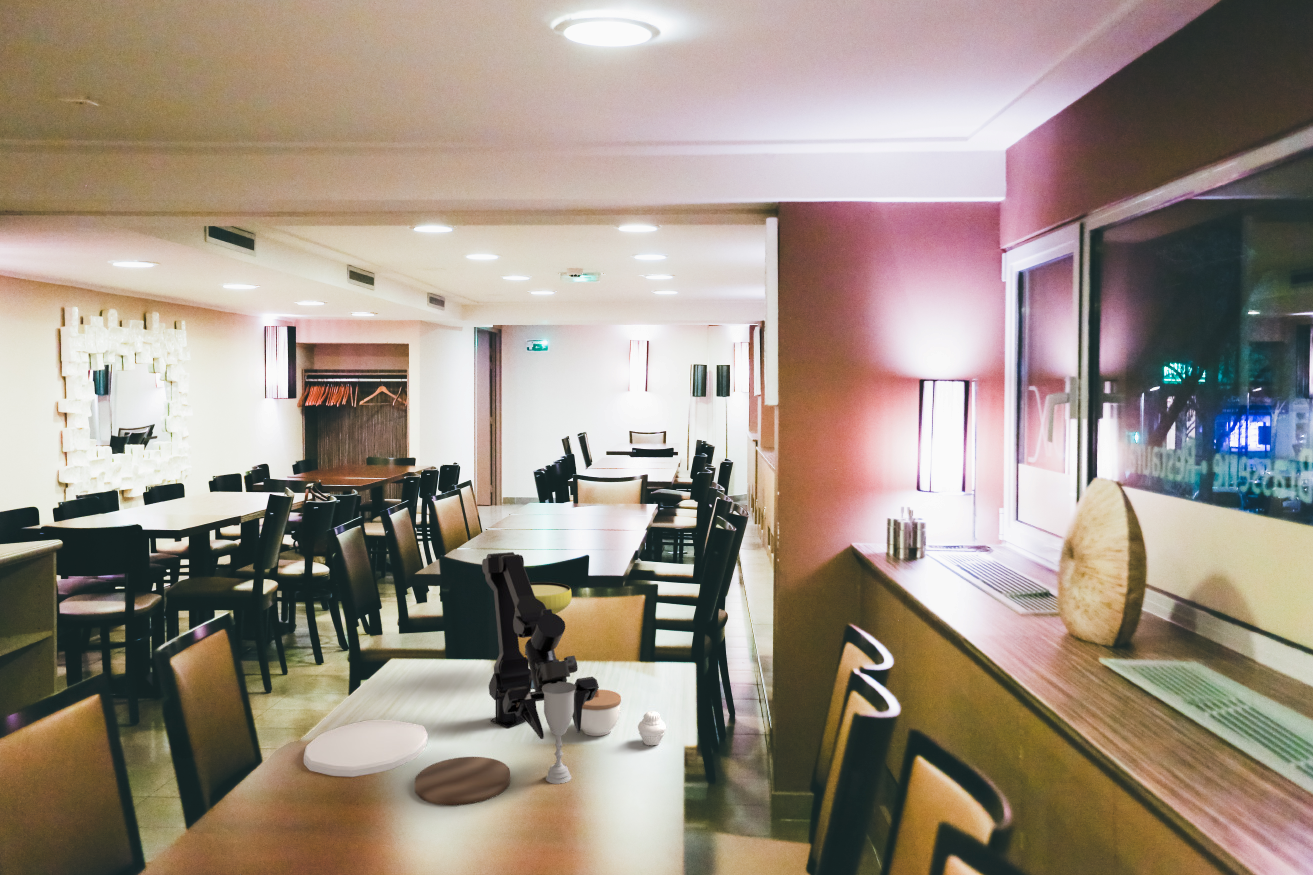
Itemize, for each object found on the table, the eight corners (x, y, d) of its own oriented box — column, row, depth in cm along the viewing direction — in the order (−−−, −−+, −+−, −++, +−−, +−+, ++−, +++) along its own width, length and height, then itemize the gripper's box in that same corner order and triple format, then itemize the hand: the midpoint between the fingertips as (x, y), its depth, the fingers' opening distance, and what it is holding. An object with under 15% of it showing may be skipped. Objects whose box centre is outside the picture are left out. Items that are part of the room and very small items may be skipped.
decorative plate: (358, 706, 194) (449, 720, 185) (358, 723, 194) (449, 738, 185) (274, 746, 170) (374, 765, 162) (275, 766, 170) (375, 786, 162)
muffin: (669, 739, 184) (669, 708, 184) (660, 750, 178) (660, 717, 178) (643, 735, 186) (643, 704, 186) (633, 746, 180) (633, 714, 180)
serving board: (395, 787, 160) (395, 779, 160) (468, 756, 175) (468, 749, 174) (456, 814, 149) (456, 806, 149) (529, 779, 164) (529, 771, 164)
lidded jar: (614, 741, 183) (614, 699, 182) (567, 738, 185) (567, 696, 184) (625, 724, 193) (625, 683, 193) (581, 720, 195) (581, 680, 195)
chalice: (542, 770, 168) (542, 681, 167) (576, 769, 168) (576, 681, 168) (540, 786, 161) (540, 694, 160) (575, 785, 161) (576, 693, 161)
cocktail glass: (567, 693, 214) (567, 596, 213) (496, 693, 214) (496, 596, 213) (575, 671, 232) (575, 582, 231) (510, 671, 232) (509, 581, 231)
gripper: (506, 648, 163) (523, 723, 154) (595, 637, 171) (616, 707, 162) (495, 676, 170) (511, 749, 161) (581, 664, 179) (601, 733, 169)
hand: (560, 734), depth 163 cm, fingers open, 7 cm apart
